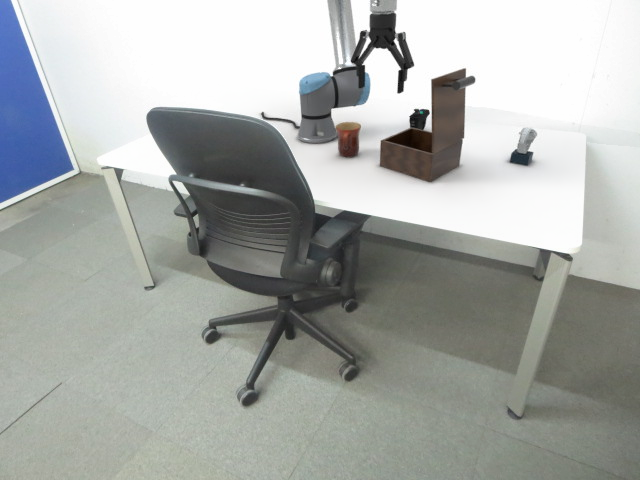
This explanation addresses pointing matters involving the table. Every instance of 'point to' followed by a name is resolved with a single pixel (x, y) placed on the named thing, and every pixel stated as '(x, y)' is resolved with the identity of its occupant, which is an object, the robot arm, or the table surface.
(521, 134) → the white bust statue
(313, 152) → the table surface
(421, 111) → the controller
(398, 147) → the chest
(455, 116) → the lid
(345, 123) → the mug
